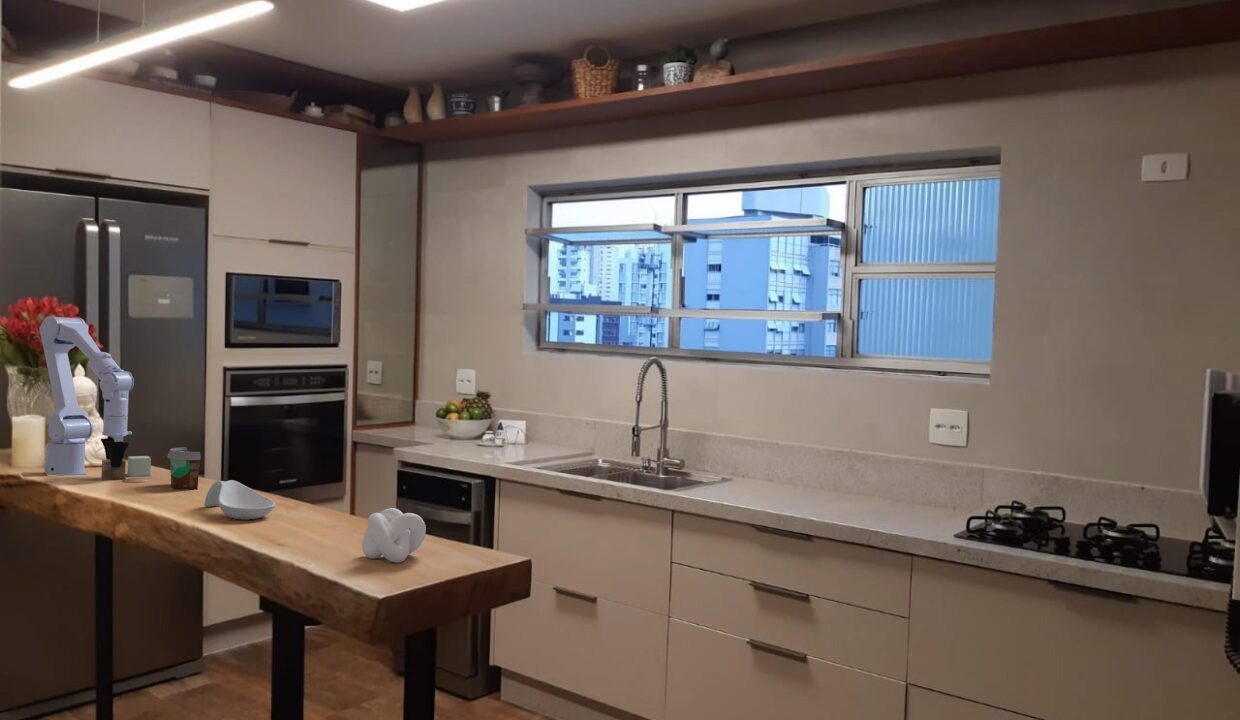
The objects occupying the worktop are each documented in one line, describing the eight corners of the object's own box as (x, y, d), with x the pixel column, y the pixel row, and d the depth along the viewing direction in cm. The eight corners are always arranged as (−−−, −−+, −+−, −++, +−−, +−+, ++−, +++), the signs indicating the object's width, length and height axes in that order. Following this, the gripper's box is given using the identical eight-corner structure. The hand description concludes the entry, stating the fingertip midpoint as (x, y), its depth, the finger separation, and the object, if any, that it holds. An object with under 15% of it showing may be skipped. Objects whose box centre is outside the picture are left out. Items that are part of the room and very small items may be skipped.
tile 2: (128, 478, 250) (128, 476, 250) (125, 475, 255) (125, 474, 255) (152, 477, 254) (152, 476, 254) (148, 474, 258) (148, 473, 258)
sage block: (130, 476, 251) (130, 458, 251) (127, 474, 255) (128, 456, 255) (150, 475, 254) (150, 458, 254) (147, 473, 258) (147, 456, 258)
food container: (160, 485, 241) (161, 447, 241) (184, 483, 245) (186, 447, 245) (174, 491, 232) (175, 453, 232) (199, 490, 236) (201, 452, 236)
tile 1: (102, 481, 242) (102, 480, 242) (99, 478, 247) (99, 477, 247) (127, 480, 245) (127, 479, 245) (123, 477, 250) (123, 476, 250)
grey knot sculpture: (342, 558, 170) (344, 510, 170) (392, 548, 180) (394, 503, 180) (383, 568, 163) (385, 519, 163) (432, 557, 173) (434, 511, 173)
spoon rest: (283, 520, 204) (285, 488, 204) (232, 525, 195) (233, 492, 195) (236, 504, 220) (238, 475, 220) (187, 509, 211) (188, 478, 211)
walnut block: (103, 480, 242) (104, 461, 242) (101, 477, 247) (102, 459, 246) (124, 479, 245) (125, 461, 245) (122, 476, 250) (122, 458, 249)
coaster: (124, 484, 239) (124, 482, 239) (120, 480, 245) (120, 478, 245) (154, 483, 243) (154, 481, 243) (149, 479, 249) (149, 477, 249)
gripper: (136, 417, 242) (134, 468, 243) (128, 413, 254) (126, 461, 254) (106, 418, 238) (104, 469, 238) (99, 413, 250) (97, 462, 250)
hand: (113, 465), depth 246 cm, fingers open, 7 cm apart
